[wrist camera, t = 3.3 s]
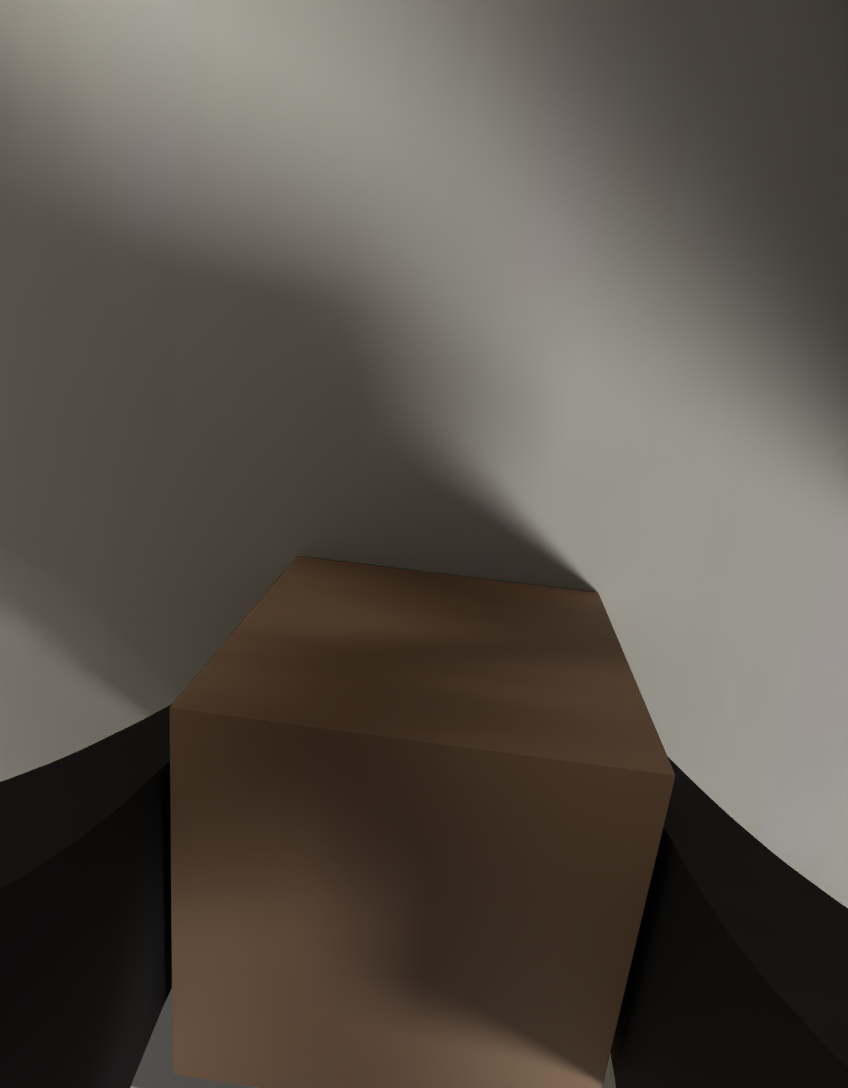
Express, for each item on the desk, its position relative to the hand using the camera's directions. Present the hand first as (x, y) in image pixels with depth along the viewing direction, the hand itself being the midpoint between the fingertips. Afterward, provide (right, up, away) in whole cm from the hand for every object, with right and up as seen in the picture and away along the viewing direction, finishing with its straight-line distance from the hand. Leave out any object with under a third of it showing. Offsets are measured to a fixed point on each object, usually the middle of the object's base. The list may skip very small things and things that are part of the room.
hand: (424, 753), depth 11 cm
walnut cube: (0, 0, +1) cm, 1 cm away
